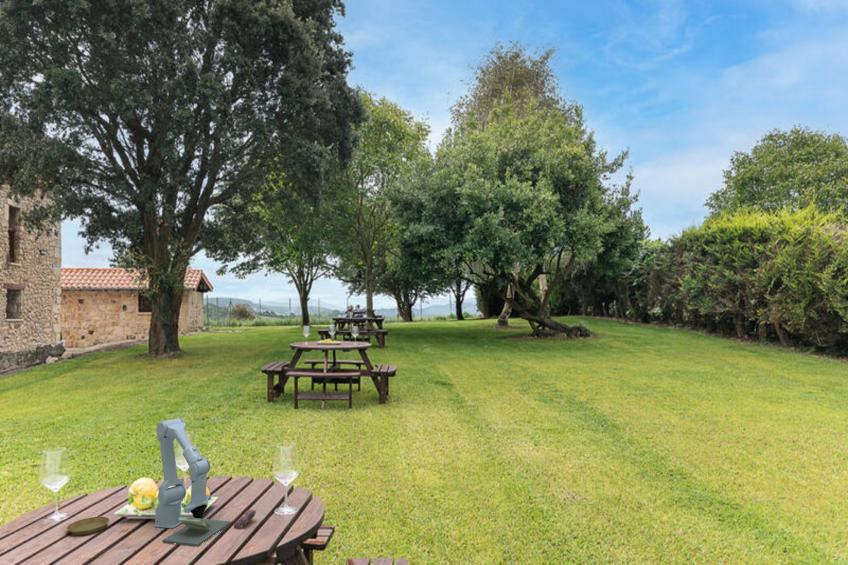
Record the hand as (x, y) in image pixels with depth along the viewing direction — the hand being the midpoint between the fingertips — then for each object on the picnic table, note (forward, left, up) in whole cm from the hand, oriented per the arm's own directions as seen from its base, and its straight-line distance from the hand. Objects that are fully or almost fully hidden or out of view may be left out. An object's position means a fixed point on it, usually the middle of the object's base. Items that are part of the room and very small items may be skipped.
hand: (197, 524), depth 204 cm
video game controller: (+14, +12, -4) cm, 19 cm away
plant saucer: (-47, -6, -4) cm, 48 cm away
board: (0, +1, -4) cm, 4 cm away
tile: (0, -1, +1) cm, 2 cm away
